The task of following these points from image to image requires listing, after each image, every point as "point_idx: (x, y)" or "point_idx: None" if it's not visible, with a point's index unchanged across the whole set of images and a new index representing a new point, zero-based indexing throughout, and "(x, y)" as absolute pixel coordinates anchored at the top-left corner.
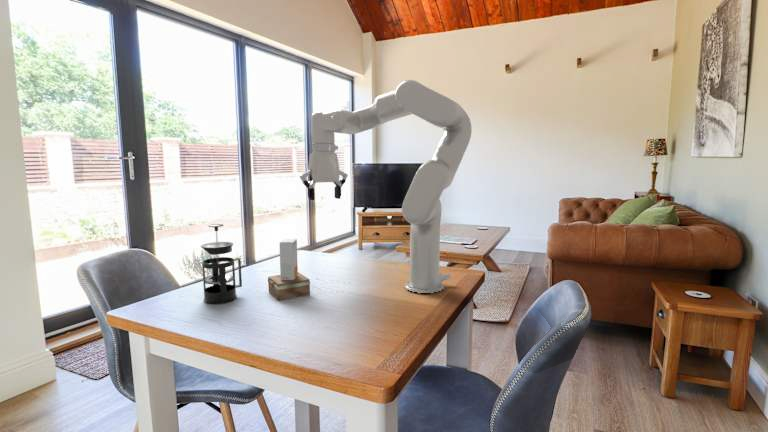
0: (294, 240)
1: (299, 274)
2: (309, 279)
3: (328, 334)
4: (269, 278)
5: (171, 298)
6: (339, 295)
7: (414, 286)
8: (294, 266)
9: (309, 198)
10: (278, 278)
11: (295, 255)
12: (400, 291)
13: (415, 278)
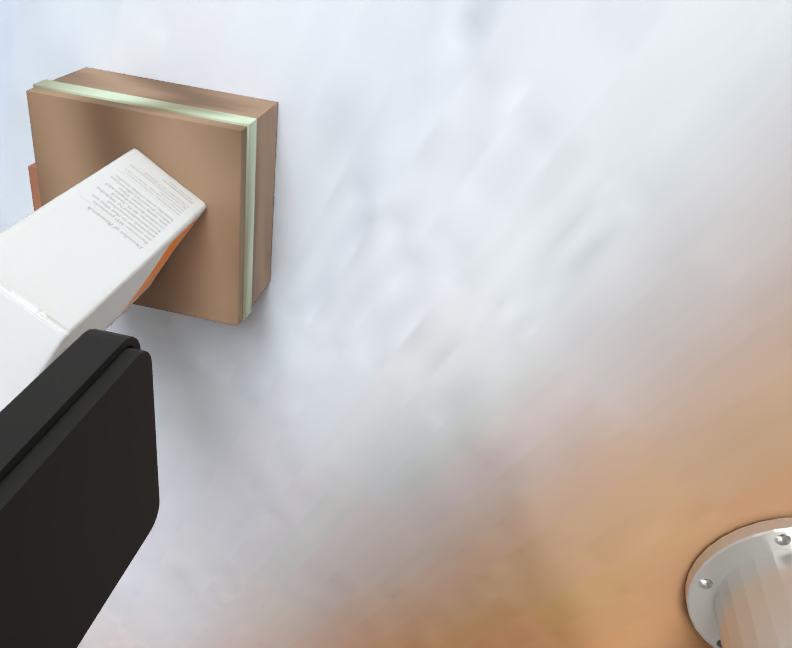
0: (31, 381)
1: (226, 191)
2: (238, 324)
3: (161, 607)
4: (33, 122)
5: None
6: (390, 387)
7: (716, 602)
8: (121, 311)
9: (86, 354)
10: (79, 180)
11: (103, 323)
12: (664, 539)
13: (723, 645)
